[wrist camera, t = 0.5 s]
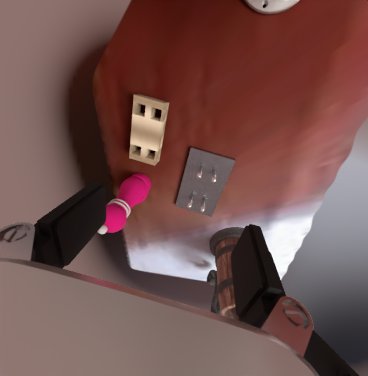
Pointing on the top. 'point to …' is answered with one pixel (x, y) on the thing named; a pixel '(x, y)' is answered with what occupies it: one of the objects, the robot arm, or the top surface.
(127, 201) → the pepper mill
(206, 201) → the chassis
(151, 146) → the tan rectangular block
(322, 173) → the top surface
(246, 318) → the robot arm
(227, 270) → the tankard
